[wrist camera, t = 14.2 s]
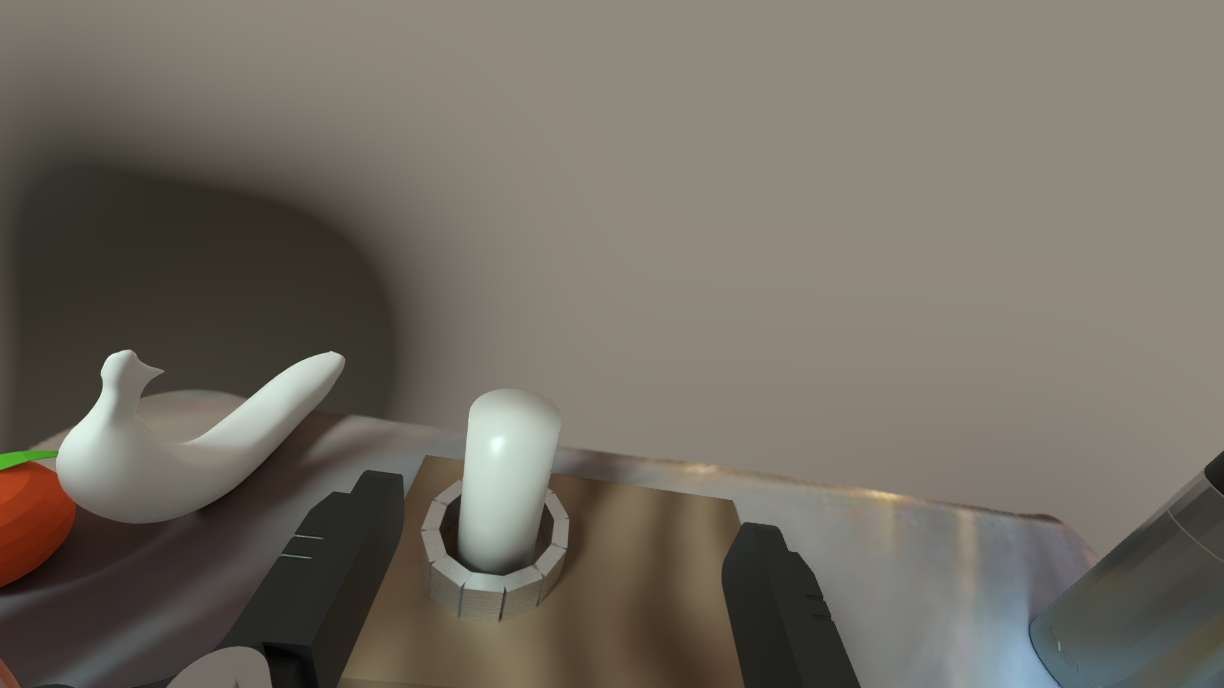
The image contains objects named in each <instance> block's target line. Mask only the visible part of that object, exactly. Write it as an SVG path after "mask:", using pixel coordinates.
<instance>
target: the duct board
mask: <svg viewBox="0 0 1224 688" xmlns="http://www.w3.org/2000/svg"><path fill="white" fill-rule="evenodd" d="M464 464H465V461H462V460H455V459H449V458H442V457H435V456H428V455H426V456H425V458H424V460H423V462H422V464H421V466H420V469H419V471H418V473H417V475H416V477H415V479H414V482H413V484H412V486H411V488H410V490H409V492H408V495H407V497H406V499H405V501H404V524H403V530H402V534H401V538H400V541H399V544H398V547H397V549H396V551H395V554H394V556H393V558H392V561H391V563H390V565H389V567H388V570H387V572H386V574H385V577H384V579H383V581H382V584H381V586H380V588H379V591H378V593H377V595H376V597H375V600H374V602H373V604H372V607H371V609H370V611H369V614H368V616H367V618H366V620H365V623H364V625H363V627H362V630H361V632H360V634H359V637H358V639H357V641H356V644H355V646H354V648H353V650H352V653H351V655H350V657H349V660H348V662H347V664H346V667H345V669H344V671H343V673H342V676H341V678H340V680H339V683H338V685H337V687H336V688H745V686H744V682H743V677H742V673H741V668H740V664H739V660H738V655H737V651H736V646H735V642H734V637H733V633H732V628H731V624H730V619H729V615H728V610H727V606H726V601H725V597H724V593H723V588H722V580H721V573H722V565H723V561H724V559H725V557H726V555H727V553H728V551H729V549H730V547H731V545H732V543H733V541H734V539H735V537H736V535H737V533H738V532H739V530H740V528H741V526H740V523H739V520H738V516H737V513H736V510H735V507H734V503H733V500H726V499H720V498H713V497H706V496H699V495H693V494H686V493H679V492H672V491H665V490H659V489H652V488H645V487H638V486H632V485H625V484H618V483H611V482H605V481H598V480H591V479H584V478H577V477H571V476H564V475H557V474H551V475H550V479H549V484H548V488H549V489H550V490H552V491H553V494H554V493H555V494H556V496H557V498H558V499H559V501H560V503H561V505H562V506H563V508H564V510H565V512H566V513H567V515H568V519H569V530H568V544H567V550H566V554H565V558H564V562H563V565H562V569H561V573H560V576H559V579H558V581H557V582H556V583H555V585H554V586H553V587H552V589H551V590H550V591H549V593H548V594H547V595H546V597H545V598H544V599H543V601H542V602H541V603H540V605H539V606H538V605H536V608H535V609H533V610H530V611H528V612H526V613H523V614H521V615H519V616H516V617H514V618H511V619H509V620H507V621H504V622H502V623H501V620H500V617H499V621H498V623H491V622H481V621H472V620H462V619H460V617H461V614H460V615H459V616H458V617H457V618H456V617H455V616H454V615H453V614H451V613H450V612H449V611H448V610H446V609H445V608H444V607H442V606H441V605H440V604H439V603H437V602H436V601H435V600H434V599H432V598H431V597H430V593H429V594H428V592H427V588H426V585H425V581H424V577H423V574H422V570H421V566H420V544H421V528H422V526H423V523H424V521H425V518H426V516H427V513H428V511H429V508H430V506H431V503H432V501H434V498H436V497H437V496H438V495H439V494H441V493H442V492H443V491H445V490H446V489H447V488H448V487H450V486H451V485H452V484H454V483H455V482H456V481H458V480H461V479H462V478H463V475H464ZM458 527H459V524H457V525H456V526H455V527H454V528H453V529H452V530H451V531H450V532H448V533H447V534H446V535H445V537H444V540H443V544H444V547H445V550H446V553H447V555H448V556H450V557H451V558H453V559H454V560H455V561H456V548H457V538H458ZM546 550H547V547H546V545H545V543H544V541H543V539H542V537H541V535H540V533H539V531H538V535H537V539H536V544H535V548H534V553H533V558H532V562H531V566H532V565H534V564H535V563H536V562H537V561H538V559H539V558H540V557H541V556H542V555H543V553H544V552H545V551H546Z"/></svg>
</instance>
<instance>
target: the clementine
mask: <svg viewBox="0 0 1224 688" xmlns="http://www.w3.org/2000/svg"><path fill="white" fill-rule="evenodd" d="M58 453H59V452H56V451H22V452H14V453H7V454H1V455H0V587H2V586H4V585H6V584H8V583H11V582H13V581H15V580H17V579H19V578H21V577H22V576H24V575H26V574H27V573H29V572H31V571H33V570H34V569H35V568H37V567H38V566H39V565H40V564H42V563H43V562H44V561H46V560H47V559H48V558H49V557H50V556H51V555H52V554H53V553H54V551H55V550H56V549H57V548H58V547H59V546H60V545H61V544H62V543H63V542H64V541H65V539H66V537H67V535H68V534H69V532H70V530H71V527H72V525H73V522H74V519H75V512H76V504H75V502H74V501H73V500H72V499H71V498H70V497H69V496H68V495H67V494H66V492H65V491H64V490H63V488H62V486H61V484H60V483H59V479H58V474H57V473H55V472H53V471H52V470H50V469H48V468H46V467H44V466H42V465H40V464H38V463H36V462H31V461H33V460H38V459H44V458H51V457H57V456H58Z"/></svg>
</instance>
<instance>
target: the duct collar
mask: <svg viewBox="0 0 1224 688" xmlns="http://www.w3.org/2000/svg"><path fill="white" fill-rule="evenodd" d="M462 485H463V478H462V479H461V480H458V481H456V482H455V483H454V484H452V485H451V486H450V487H448V488H447V489H446V490H445V491H443V492H442V493H441V494H439V495H438V496H437V497H436V498H434V501H432V503H431V506H430V508H429V511H428V513H427V516H426V518H425V521H424V523H423V526H422V528H421V544H420V566H421V570H422V574H423V577H424V581H425V585H426V588H427V592H428V594H429V593H430V597H431V598H432V599H434V600H435V601H436V602H437V603H439V604H440V605H441V606H442V607H444V608H445V609H446V610H448V611H449V612H450V613H451V614H453V615H454V616H455V617H456V618H457V617H458V616H459V615H460V614H461V617H460V619H462V620H472V621H481V622H491V623H498V621H499V617H500V620H501V623H502V622H504V621H507V620H509V619H511V618H514V617H516V616H519V615H521V614H523V613H526V612H528V611H530V610H533V609H535V608H536V605H538V606H539V605H540V603H541V602H542V601H543V599H544V598H545V597H546V595H547V594H548V593H549V591H550V590H551V589H552V587H553V586H554V585H555V583H556V582H557V581H558V579H559V576H560V573H561V569H562V565H563V562H564V558H565V554H566V550H567V544H568V530H569V519H568V515H567V513H566V512H565V510H564V508H563V506H562V505H561V503H560V501H559V499H558V498H557V496H556V494H555V493H554V494H553V491H552V490H550V489H549V488H548V489H547V493H546V498H545V502H544V507H543V512H542V516H541V521H540V525H539V530H538V531H539V533H540V535H541V537H542V539H543V541H544V543H545V545H546V547H547V550H546V551H545V552H544V553H543V555H542V556H541V557H540V558H539V559H538V561H537V562H536V563H535V564H534V565H532V566H530V567H527V568H524V569H522V570H519V571H516V572H513V573H511V574H508V575H505V576H499V575H491V574H482V573H474V572H470V571H469V570H467V569H466V568H465V567H463V566H462V565H461V564H459V563H458V562H457V561H455V560H454V559H453V558H451V557H450V556H448V555H447V553H446V550H445V547H444V544H443V540H444V537H445V535H446V534H447V533H448V532H450V531H451V530H452V529H453V528H454V527H455V526H456V525H457V524H459V517H460V506H461V496H462Z"/></svg>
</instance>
